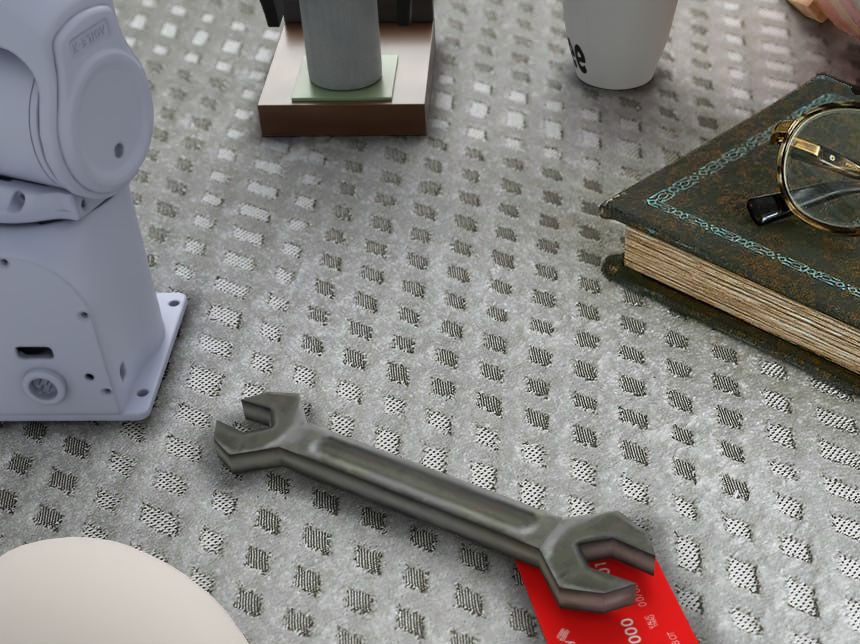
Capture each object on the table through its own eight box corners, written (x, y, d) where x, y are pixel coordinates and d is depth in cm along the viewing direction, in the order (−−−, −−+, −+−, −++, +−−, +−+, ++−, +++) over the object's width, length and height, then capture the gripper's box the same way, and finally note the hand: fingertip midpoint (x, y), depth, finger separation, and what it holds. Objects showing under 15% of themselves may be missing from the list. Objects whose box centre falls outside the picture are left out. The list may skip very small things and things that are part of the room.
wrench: (615, 614, 43) (189, 439, 50) (615, 642, 44) (200, 467, 51) (673, 522, 45) (260, 369, 53) (671, 551, 47) (268, 397, 54)
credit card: (512, 552, 47) (512, 551, 47) (639, 526, 48) (639, 525, 48) (577, 723, 41) (577, 722, 41) (721, 689, 42) (721, 688, 42)
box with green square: (426, 135, 72) (423, 77, 70) (262, 136, 72) (252, 79, 70) (435, 45, 82) (433, -8, 79) (290, 46, 82) (283, -7, 79)
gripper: (456, -263, 64) (464, -8, 74) (188, -261, 64) (230, -6, 74) (451, -230, 59) (460, 40, 69) (160, -227, 59) (209, 42, 69)
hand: (340, 20), depth 71 cm, fingers open, 7 cm apart
